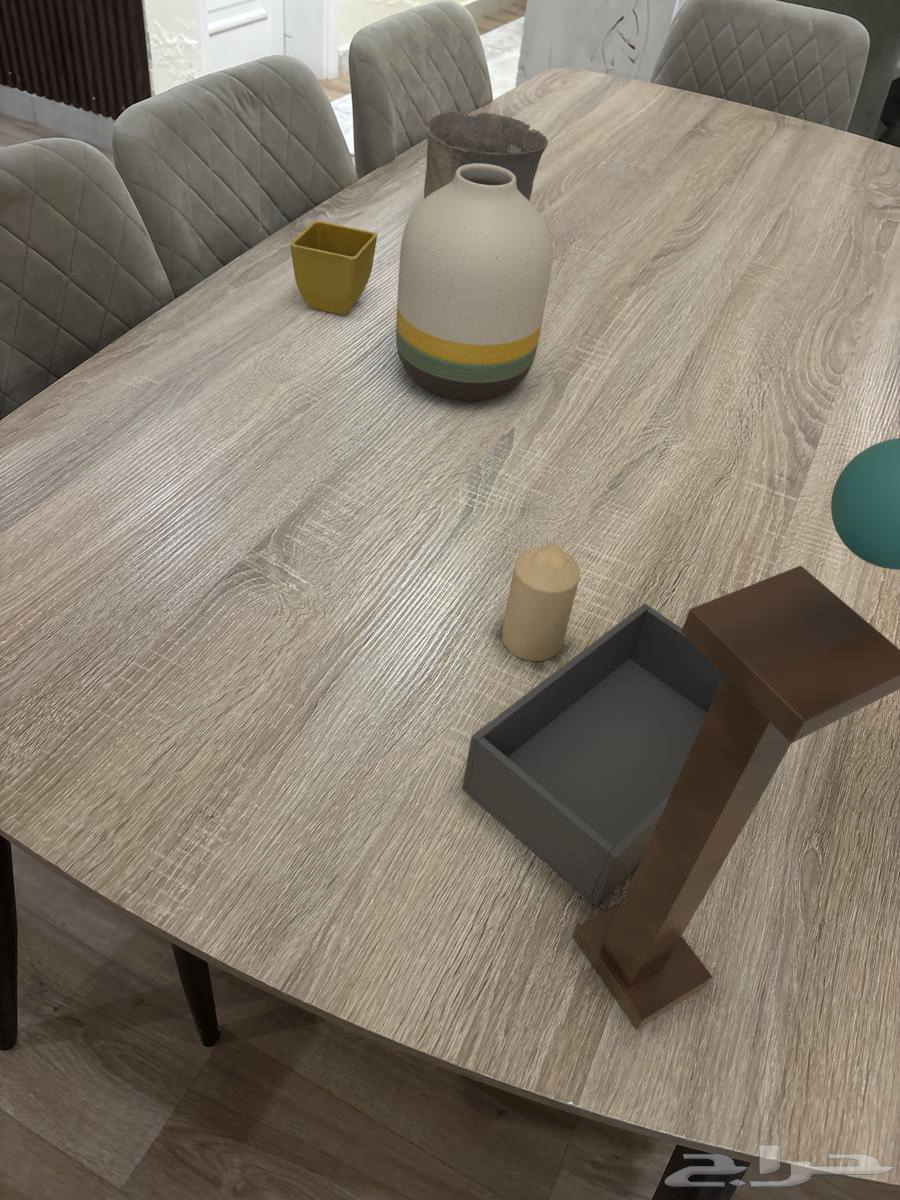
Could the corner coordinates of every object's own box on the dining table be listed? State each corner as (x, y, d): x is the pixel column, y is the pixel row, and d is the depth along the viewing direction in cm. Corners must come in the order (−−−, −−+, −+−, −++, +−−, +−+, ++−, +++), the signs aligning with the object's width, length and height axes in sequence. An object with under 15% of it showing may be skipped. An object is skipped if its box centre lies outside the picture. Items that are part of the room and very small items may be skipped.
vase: (365, 364, 115) (372, 160, 98) (467, 329, 123) (490, 136, 107) (456, 431, 106) (481, 219, 90) (559, 387, 115) (599, 188, 98)
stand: (706, 986, 62) (919, 664, 40) (624, 1037, 59) (804, 721, 37) (641, 899, 66) (801, 564, 44) (560, 943, 63) (689, 608, 41)
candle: (515, 609, 86) (532, 525, 79) (571, 631, 85) (593, 548, 78) (491, 647, 83) (506, 562, 76) (549, 671, 81) (570, 587, 74)
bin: (754, 746, 77) (781, 694, 73) (596, 907, 66) (616, 858, 61) (627, 655, 83) (644, 602, 79) (461, 788, 72) (471, 735, 67)
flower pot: (315, 283, 129) (314, 218, 122) (375, 297, 127) (378, 232, 121) (290, 311, 122) (288, 244, 116) (353, 326, 121) (355, 258, 115)
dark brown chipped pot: (541, 223, 151) (557, 123, 141) (522, 268, 138) (538, 162, 128) (434, 203, 153) (442, 103, 142) (405, 245, 140) (412, 139, 130)
